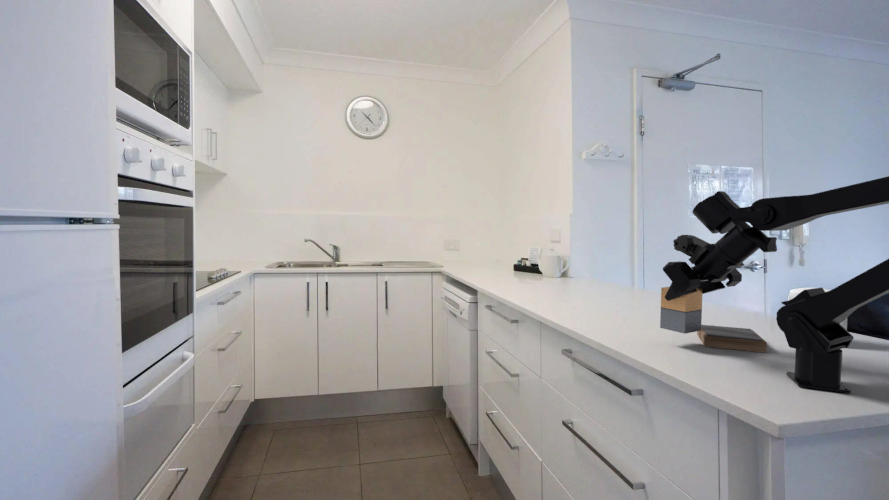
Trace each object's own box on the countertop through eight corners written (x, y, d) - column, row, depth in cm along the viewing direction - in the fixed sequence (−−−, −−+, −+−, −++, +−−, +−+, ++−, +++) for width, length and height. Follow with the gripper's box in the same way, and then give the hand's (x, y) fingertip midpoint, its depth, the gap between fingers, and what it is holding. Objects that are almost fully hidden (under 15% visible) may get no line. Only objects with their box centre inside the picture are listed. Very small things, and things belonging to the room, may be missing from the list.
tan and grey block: (701, 330, 88) (702, 289, 88) (684, 333, 86) (686, 291, 85) (676, 325, 93) (677, 285, 93) (660, 327, 91) (661, 287, 90)
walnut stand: (766, 352, 85) (766, 340, 85) (704, 346, 90) (705, 334, 90) (752, 339, 95) (752, 328, 95) (697, 334, 100) (697, 323, 100)
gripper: (728, 222, 89) (678, 268, 99) (673, 221, 80) (624, 271, 91) (768, 260, 82) (710, 305, 93) (713, 264, 74) (655, 313, 84)
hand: (675, 297), depth 90 cm, fingers closed on tan and grey block, 6 cm apart
